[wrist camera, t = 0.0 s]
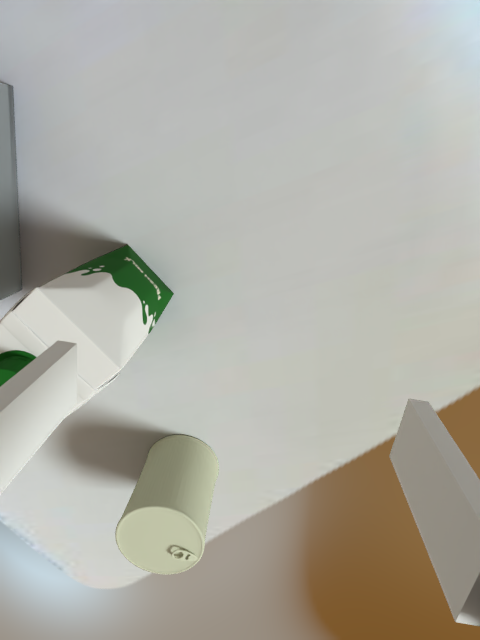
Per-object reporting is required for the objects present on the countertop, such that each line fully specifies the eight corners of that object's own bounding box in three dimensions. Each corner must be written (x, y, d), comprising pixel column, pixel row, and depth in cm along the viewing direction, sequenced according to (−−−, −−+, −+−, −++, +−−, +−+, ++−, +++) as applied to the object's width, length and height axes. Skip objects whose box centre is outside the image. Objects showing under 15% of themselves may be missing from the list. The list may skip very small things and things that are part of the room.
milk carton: (72, 285, 45) (-69, 369, 27) (128, 231, 43) (15, 281, 24) (130, 342, 47) (35, 458, 28) (186, 293, 45) (124, 385, 26)
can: (199, 504, 55) (179, 592, 43) (135, 474, 54) (99, 555, 42) (232, 455, 51) (220, 535, 40) (165, 422, 51) (134, 495, 39)
